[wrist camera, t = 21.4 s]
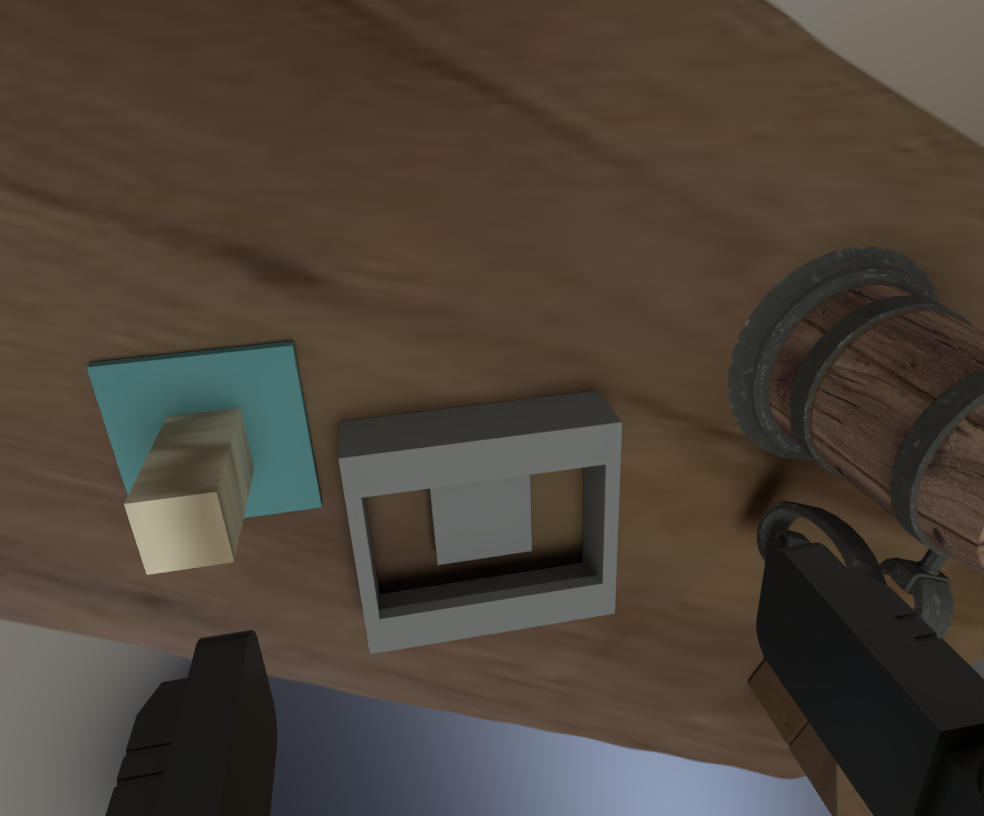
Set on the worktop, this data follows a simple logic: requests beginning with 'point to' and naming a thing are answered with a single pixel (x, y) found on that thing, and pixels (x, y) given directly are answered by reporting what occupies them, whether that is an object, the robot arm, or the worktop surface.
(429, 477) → the open gray rectangular frame
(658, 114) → the worktop surface
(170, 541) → the birch block
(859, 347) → the tankard
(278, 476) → the mat
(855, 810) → the wooden block
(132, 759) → the robot arm
